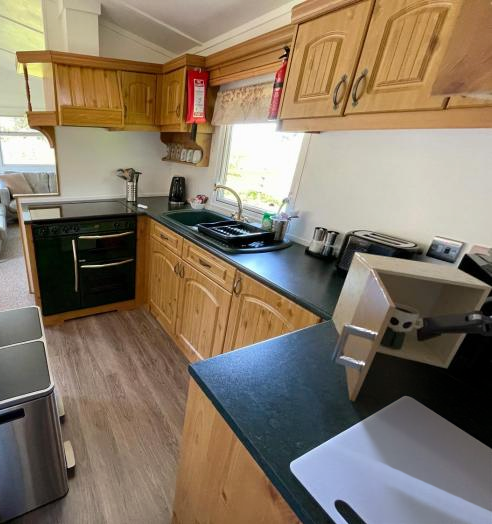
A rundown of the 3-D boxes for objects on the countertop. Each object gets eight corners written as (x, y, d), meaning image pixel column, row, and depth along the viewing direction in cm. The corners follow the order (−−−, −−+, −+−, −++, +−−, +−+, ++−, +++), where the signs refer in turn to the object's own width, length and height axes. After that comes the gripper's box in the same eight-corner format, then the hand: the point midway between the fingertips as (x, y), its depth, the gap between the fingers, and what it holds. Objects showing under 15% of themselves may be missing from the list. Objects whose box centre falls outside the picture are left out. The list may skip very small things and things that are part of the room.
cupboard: (447, 368, 83) (492, 287, 73) (343, 344, 91) (372, 267, 81) (419, 338, 97) (454, 266, 88) (331, 319, 105) (355, 251, 95)
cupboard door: (321, 389, 71) (356, 297, 62) (321, 338, 93) (346, 263, 84) (354, 401, 68) (395, 307, 59) (346, 345, 90) (375, 269, 80)
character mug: (367, 343, 90) (382, 306, 86) (366, 332, 96) (380, 298, 91) (412, 357, 85) (431, 319, 80) (408, 346, 90) (426, 310, 86)
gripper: (661, 314, 44) (526, 341, 63) (454, 281, 52) (389, 314, 70) (681, 364, 41) (534, 377, 60) (459, 321, 49) (390, 344, 67)
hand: (455, 343), depth 65 cm, fingers open, 13 cm apart
